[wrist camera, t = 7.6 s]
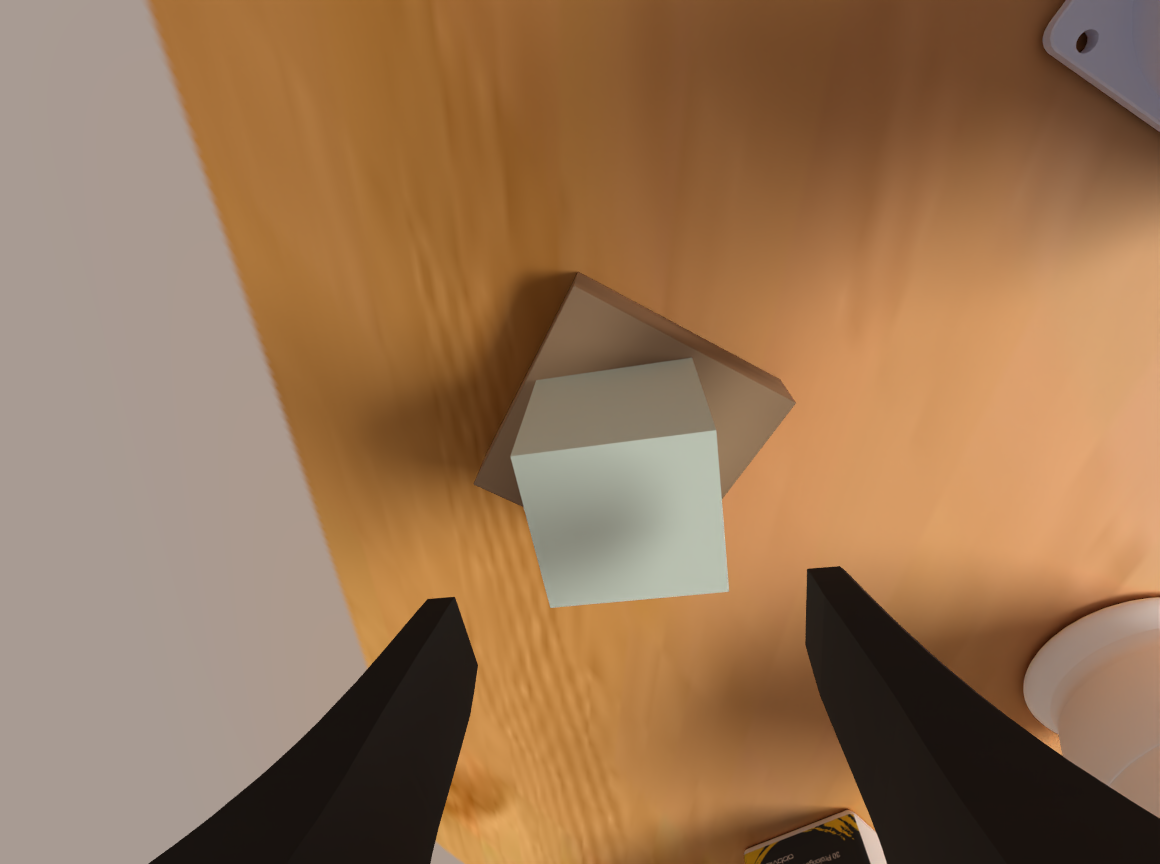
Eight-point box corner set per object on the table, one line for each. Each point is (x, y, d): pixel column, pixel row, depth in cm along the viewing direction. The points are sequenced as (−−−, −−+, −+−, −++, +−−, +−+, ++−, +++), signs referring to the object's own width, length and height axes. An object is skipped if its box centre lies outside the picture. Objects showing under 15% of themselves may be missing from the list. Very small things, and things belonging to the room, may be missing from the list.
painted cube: (691, 357, 18) (716, 430, 13) (704, 491, 20) (729, 592, 16) (536, 380, 19) (510, 456, 14) (565, 507, 21) (550, 608, 16)
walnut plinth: (780, 379, 20) (796, 402, 18) (662, 538, 24) (666, 571, 22) (578, 271, 19) (573, 285, 17) (484, 456, 22) (473, 484, 21)
